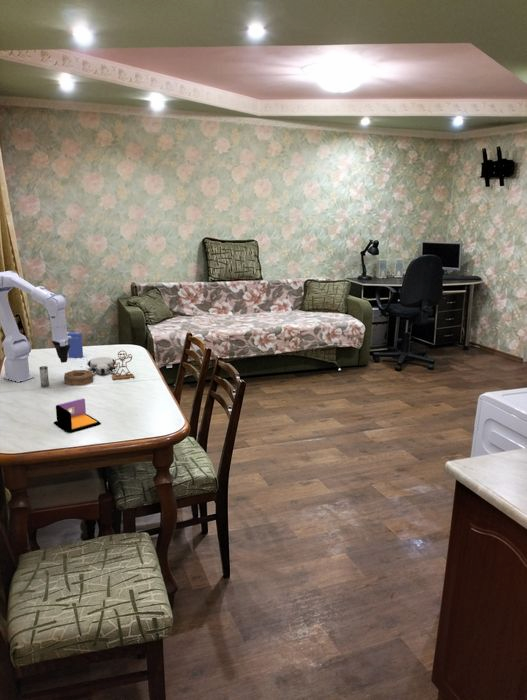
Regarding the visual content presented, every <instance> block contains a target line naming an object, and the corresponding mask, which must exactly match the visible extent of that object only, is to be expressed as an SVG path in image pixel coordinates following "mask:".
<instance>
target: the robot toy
mask: <svg viewBox="0 0 527 700" xmlns="http://www.w3.org/2000/svg"><path fill="white" fill-rule="evenodd" d="M116 359H117V358H116V357H114V358H112V357H106V356H105V357H103V356H100V357H93V358H91V359H90V360H88V358H87V359H86V365H87V367H89V368H90V370H89V371H92V372H93V374H95V373H97V374H98V375H107V374H108V373H109V372H111V373H116V372H117V370H118V369H116V367H113V362H114V360H116ZM114 363H116V364H117V360H116V361H115V362H114Z"/></svg>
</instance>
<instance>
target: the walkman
mask: <svg viewBox="0 0 527 700" xmlns="http://www.w3.org/2000/svg"><path fill="white" fill-rule="evenodd" d="M67 334H68V336H71V338H70V339H68V340H67V342H66V345H69V344H70V348H69V351H68V358H67V359H82V358H83V357H84V350H83V349H84V348H83V334H82V332H79V331H76V332H73V331H72V332H71V331H67Z"/></svg>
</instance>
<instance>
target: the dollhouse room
mask: <svg viewBox="0 0 527 700" xmlns="http://www.w3.org/2000/svg"><path fill="white" fill-rule="evenodd" d="M70 410H71V411H70ZM86 411H87V409H86V399H85V398H83V397H82V398H79V399H75V400H69V401H67V402H62V403H58V404H56V405H55V413H56V415H55V416H56V420H55V421H53V425H55V426H56V427H58V428H59V429H60V430H62V431H64V432H65V433H66V434H73V433H76V432H77V433H78V432H80V431H81V432H82V431H84V430H87V429H91V428H95V427H97V426H100V425H102V422H100V421H99V420H97V419H96V418H94V417H93V416H91V415H89V414H87V412H86Z"/></svg>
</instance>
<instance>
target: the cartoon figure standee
mask: <svg viewBox="0 0 527 700" xmlns="http://www.w3.org/2000/svg"><path fill="white" fill-rule="evenodd" d="M121 352H123V353H121ZM122 355H123V356H122ZM117 357H118V358H116V360H115V359H114V362H115V361H116V363H114V362H113V367H114V368H117V367H118V369H116V370H117V371H116V372H115V374H113V375H111V379H112V381H121V380H122V379H123V380H131V379H130V378H133V379H135V375H134V373H131V371H130V370H129V369H128V367H127V363H128V364H129V363H130V362H131V361H132V359H133V355H132V354H131V353H130V354H127V352H126V351H125V350H123V349H122V350H120V351H118V353H117ZM127 359H129V360H128V361H125V360H127ZM119 360H120V362H121V363H122V364H121V363H120V362H117V361H119ZM124 362H125V365H124ZM120 368H122V369H121V371H120V373H119V370H120ZM123 368H126V370H127V372H126V371H125V370H124V369H123ZM122 373H123V374H122Z"/></svg>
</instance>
